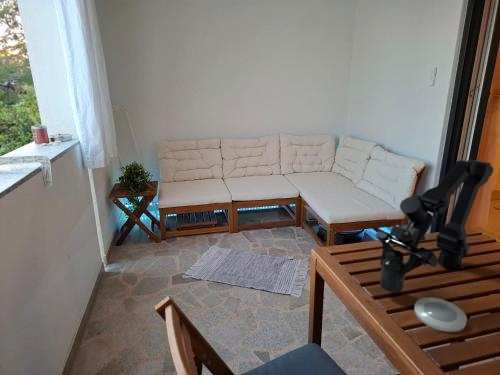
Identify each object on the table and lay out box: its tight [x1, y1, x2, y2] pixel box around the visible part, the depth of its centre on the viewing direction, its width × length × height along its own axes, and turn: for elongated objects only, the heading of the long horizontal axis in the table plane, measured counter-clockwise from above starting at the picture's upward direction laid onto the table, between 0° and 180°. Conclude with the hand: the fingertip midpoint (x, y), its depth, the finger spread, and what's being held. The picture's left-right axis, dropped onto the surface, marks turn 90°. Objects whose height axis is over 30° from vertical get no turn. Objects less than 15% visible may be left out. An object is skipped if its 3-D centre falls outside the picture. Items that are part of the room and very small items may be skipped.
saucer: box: [413, 297, 468, 333], centre depth 93 cm, size 13×13×2 cm
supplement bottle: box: [379, 249, 406, 294], centre depth 101 cm, size 7×7×12 cm
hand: (390, 270), depth 100 cm, fingers closed on supplement bottle, 7 cm apart
